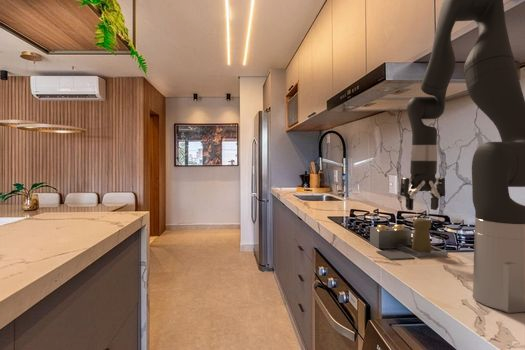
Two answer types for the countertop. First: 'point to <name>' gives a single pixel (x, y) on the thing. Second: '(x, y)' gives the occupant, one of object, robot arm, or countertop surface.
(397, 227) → the plunger
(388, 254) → the mat
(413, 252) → the housing
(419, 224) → the cork
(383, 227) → the plunger
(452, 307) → the countertop surface
